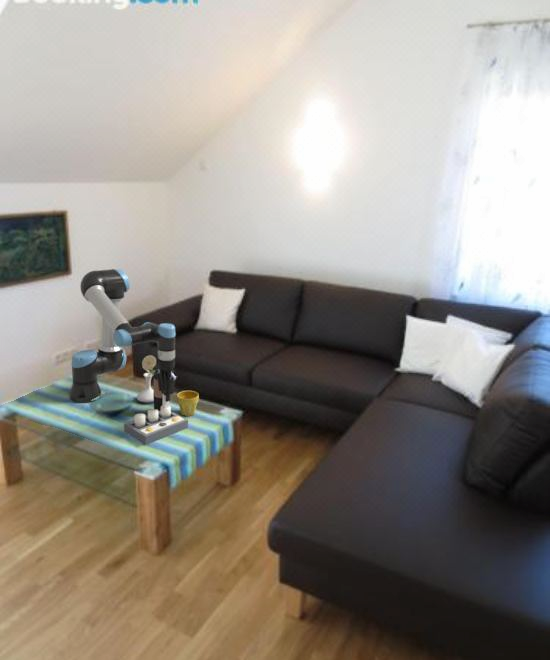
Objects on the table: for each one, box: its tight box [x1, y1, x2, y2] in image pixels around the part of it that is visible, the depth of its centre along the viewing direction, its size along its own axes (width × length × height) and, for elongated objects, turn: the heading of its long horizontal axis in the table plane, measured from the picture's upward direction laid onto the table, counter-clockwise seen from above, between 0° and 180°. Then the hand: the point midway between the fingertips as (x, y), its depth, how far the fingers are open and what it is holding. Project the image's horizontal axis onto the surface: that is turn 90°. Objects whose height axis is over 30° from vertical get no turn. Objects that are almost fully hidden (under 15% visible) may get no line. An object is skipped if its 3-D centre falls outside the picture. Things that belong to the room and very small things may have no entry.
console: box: [123, 411, 189, 446], centre depth 222 cm, size 16×23×4 cm
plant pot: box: [176, 390, 200, 417], centre depth 240 cm, size 10×10×10 cm
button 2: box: [147, 408, 158, 424], centre depth 222 cm, size 5×5×5 cm
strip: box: [140, 415, 186, 434], centre depth 219 cm, size 4×21×1 cm, turn 140°
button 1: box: [134, 413, 146, 429], centre depth 217 cm, size 5×5×5 cm
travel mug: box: [153, 372, 163, 411], centre depth 238 cm, size 8×8×20 cm
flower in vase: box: [136, 354, 157, 403], centre depth 248 cm, size 13×11×25 cm
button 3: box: [160, 405, 172, 419], centre depth 228 cm, size 5×5×5 cm
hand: (165, 406), depth 227 cm, fingers closed
